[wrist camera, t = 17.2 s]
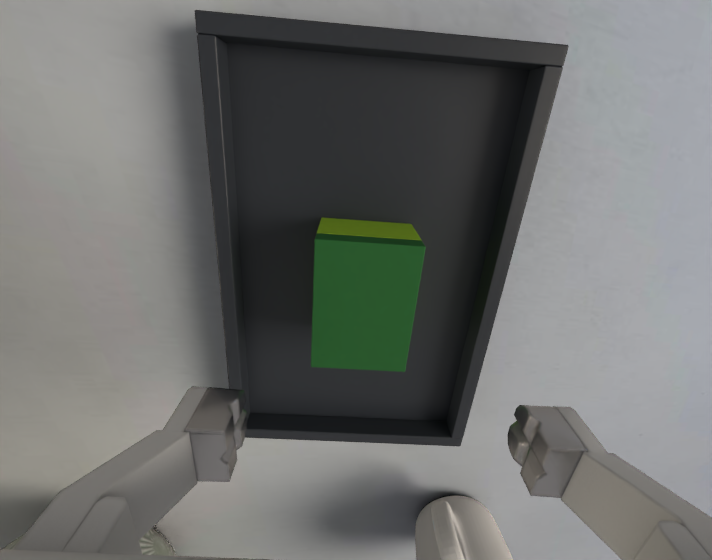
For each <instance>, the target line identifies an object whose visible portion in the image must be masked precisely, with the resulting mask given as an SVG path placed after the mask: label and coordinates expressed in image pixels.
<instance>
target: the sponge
mask: <svg viewBox="0 0 712 560" xmlns="http://www.w3.org/2000/svg"><path fill="white" fill-rule="evenodd" d="M425 249H426V247H425V245H424V243H423V242H422V240H421V238H420V237H419V235H418V234H417V232H416V230H415V229H414V227H413V226H412V224H405V223H391V222H377V221H363V220H349V219H335V218H321V220H320V224H319V227H318V230H317V233H316V237H315V240H314V273H313V307H312V341H311V367H320V368H339V369H359V370H378V371H397V372H405V370H406V364H407V358H408V352H409V346H410V339H411V333H412V327H413V321H414V315H415V309H416V303H417V297H418V291H419V285H420V279H421V273H422V267H423V261H424V255H425Z"/></svg>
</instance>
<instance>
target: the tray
mask: <svg viewBox="0 0 712 560" xmlns="http://www.w3.org/2000/svg"><path fill="white" fill-rule="evenodd" d="M195 19H196V30H197V33H198V35H197V39H198V50H199V61H200V72H201V83H202V94H203V105H204V116H205V127H206V138H207V149H208V160H209V171H210V182H211V193H212V204H213V215H214V226H215V236H216V247H217V258H218V269H219V280H220V291H221V302H222V313H223V324H224V335H225V346H226V357H227V368H228V379H229V389H237V390H244V391H245V393H246V402H245V405H244V409H245V410H246V411H247V429H246V434H245V437H247V438H271V439H296V440H320V441H344V442H369V443H393V444H417V445H441V446H461V442H462V438H463V435H464V431H465V428H466V424H467V420H468V417H469V413H470V409H471V405H472V402H473V398H474V394H475V391H476V387H477V383H478V380H479V376H480V372H481V368H482V365H483V361H484V357H485V354H486V350H487V346H488V343H489V339H490V335H491V331H492V328H493V324H494V320H495V317H496V313H497V309H498V306H499V302H500V298H501V294H502V291H503V287H504V283H505V280H506V276H507V272H508V269H509V265H510V261H511V257H512V254H513V250H514V246H515V243H516V239H517V235H518V232H519V228H520V224H521V220H522V217H523V213H524V209H525V206H526V202H527V198H528V195H529V191H530V187H531V183H532V180H533V176H534V172H535V169H536V165H537V161H538V157H539V154H540V150H541V146H542V143H543V139H544V135H545V132H546V128H547V124H548V120H549V117H550V113H551V109H552V106H553V102H554V98H555V95H556V91H557V87H558V83H559V80H560V76H561V72H562V69H563V67H562V66H563V65H564V61H565V57H566V54H567V50H568V45H562V44H552V43H541V42H530V41H520V40H509V39H499V38H488V37H477V36H467V35H456V34H446V33H435V32H424V31H414V30H403V29H392V28H382V27H371V26H361V25H350V24H339V23H329V22H318V21H308V20H297V19H286V18H276V17H265V16H254V15H244V14H233V13H223V12H212V11H201V10H195ZM321 218H335V219H349V220H363V221H377V222H391V223H405V224H412V226H413V227H414V229H415V230H416V232H417V234H418V235H419V237H420V238H421V240H422V242H423V243H424V245H425V247H426V249H425V255H424V261H423V267H422V273H421V279H420V285H419V291H418V297H417V303H416V309H415V315H414V321H413V327H412V333H411V339H410V346H409V352H408V358H407V364H406V370H405V372H397V371H378V370H359V369H339V368H320V367H311V341H312V307H313V273H314V240H315V237H316V233H317V230H318V227H319V224H320V220H321Z"/></svg>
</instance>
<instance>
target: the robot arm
mask: <svg viewBox="0 0 712 560" xmlns="http://www.w3.org/2000/svg"><path fill="white" fill-rule="evenodd" d="M245 402H246V393H245V391H244V390H237V389H225V388H212V387H210V388H207V387H195V386H192V387H191V388H190V389H188V390H187V392H186V394H185V395H184V397H183V398H182V400H181V401H180V403H179V405H178V406H177V408H176V409H175V411H174V413H173V414H172V416H171V417H170V419H169V421H168V422H167V424H166V425H165V427H164V428H163V430H156V431H155V432H153V433H152V434H150V435H148V436H147V437H145V438H144V439H142V440H141V441H139V442H137V443H136V444H134V445H133V446H131V447H130V448H128V449H126V450H125V451H123V452H122V453H120V454H118V455H117V456H115V457H114V458H112V459H111V460H109V461H107V462H106V463H104V464H103V465H101V466H100V467H98V468H96V469H95V470H93V471H92V472H90V473H89V474H87V475H85V476H84V477H82V478H81V479H79V480H77V481H76V482H74V483H73V484H71V485H70V486H68V487H66V488H65V489H63V490H62V491H60V492H59V493H58V494H57V495H56V497H55V498H54V499H53V500H52V502H51V503H50V504H49V505H48V506H47V508H46V509H45V510H44V511H43V513H42V514H41V515H40V516H39V518H38V519H37V520H36V521H35V523H34V524H33V525H32V526H31V528H30V529H29V530H28V531H27V533H26V534H25V535H24V536H23V538H22V539H21V540H20V541H19V542H18V544H17V545H16V546H15V547H14V549H13V550H12V549H0V560H268V559H242V558H216V557H190V556H165V555H143V554H142V550H141V547H140V543H139V540H140V539H141V538H142V537H143V536H144V535H145V534H146V533H147V532H148V531H149V530H150V529H151V528H152V527H153V526H154V525H155V524H156V523H157V522H158V521H159V520H160V519H161V518H162V517H163V516H164V515H165V514H166V513H167V512H168V511H169V510H171V509H172V508H173V507H174V506H175V505H176V504H177V503H178V502H179V501H180V500H181V499H182V498H183V497H184V496H185V495H186V494H187V493H188V492H189V491H190V490H191V489H192V488H193V487H194V486H195V485H196V484H197V481H217V482H229V481H230V479H231V476H232V473H233V470H234V467H235V464H236V462H237V452H236V450H238V449H239V448H240V447H241V446H242V444H243V441H244V438H245V434H246V429H247V411H246V410H245V409H244V405H245ZM514 416H515V417H516V419H517V421H516V422H515V423H513V424H512V425H511V426H510V429H509V432H508V446H509V450H510V453H511V455H512V457H513V459H514V460H515V461H516V462H517V463H518V464H520V465H521V466H522V469H521V472H520V474H521V476H522V478H523V480H524V482H525V484H526V487H527V489H528V491H529V493H530V495H531V496H543V497H556V498H561V500H562V501H563V502H564V503H565V504H566V505H567V506H568V507H569V508H570V509H571V510H572V511H573V512H574V513H575V514H576V515H577V516H578V517H579V518H580V519H581V520H582V521H583V522H584V523H585V524H586V525H587V526H588V527H589V528H590V529H591V530H592V531H593V532H594V533H595V534H596V535H597V536H598V537H599V538H600V539H601V540H602V541H603V542H604V543H605V544H606V545H607V546H608V547H610V548H611V549H612V550H613V551H614V552H615V553H616V554H617V555H618V556H619V557H620V558H621V559H622V560H712V518H711V517H710V516H708V515H707V514H705V513H704V512H702V511H701V510H699V509H697V508H696V507H694V506H693V505H691V504H690V503H688V502H687V501H685V500H684V499H682V498H681V497H679V496H678V495H676V494H675V493H673V492H672V491H670V490H668V489H667V488H665V487H664V486H662V485H661V484H659V483H658V482H656V481H655V480H653V479H652V478H650V477H649V476H647V475H646V474H644V473H643V472H641V471H639V470H638V469H636V468H635V467H633V466H632V465H630V464H629V463H627V462H626V461H624V460H623V459H621V458H620V457H618V456H617V455H615V454H614V453H608V452H607V451H606V450H605V449H604V447H603V446H602V445H601V443H600V442H599V441H598V440H597V438H596V437H595V436H594V434H593V433H592V432H591V430H590V429H589V428H588V427H587V425H586V424H585V423H584V421H583V420H582V419H581V418H580V416H579V415H578V414H577V412H576V411H575V410H574V409H572V408H571V407H555V406H553V407H550V406H529V405H519V406H518V407H517V408H516V411H515V414H514Z"/></svg>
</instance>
